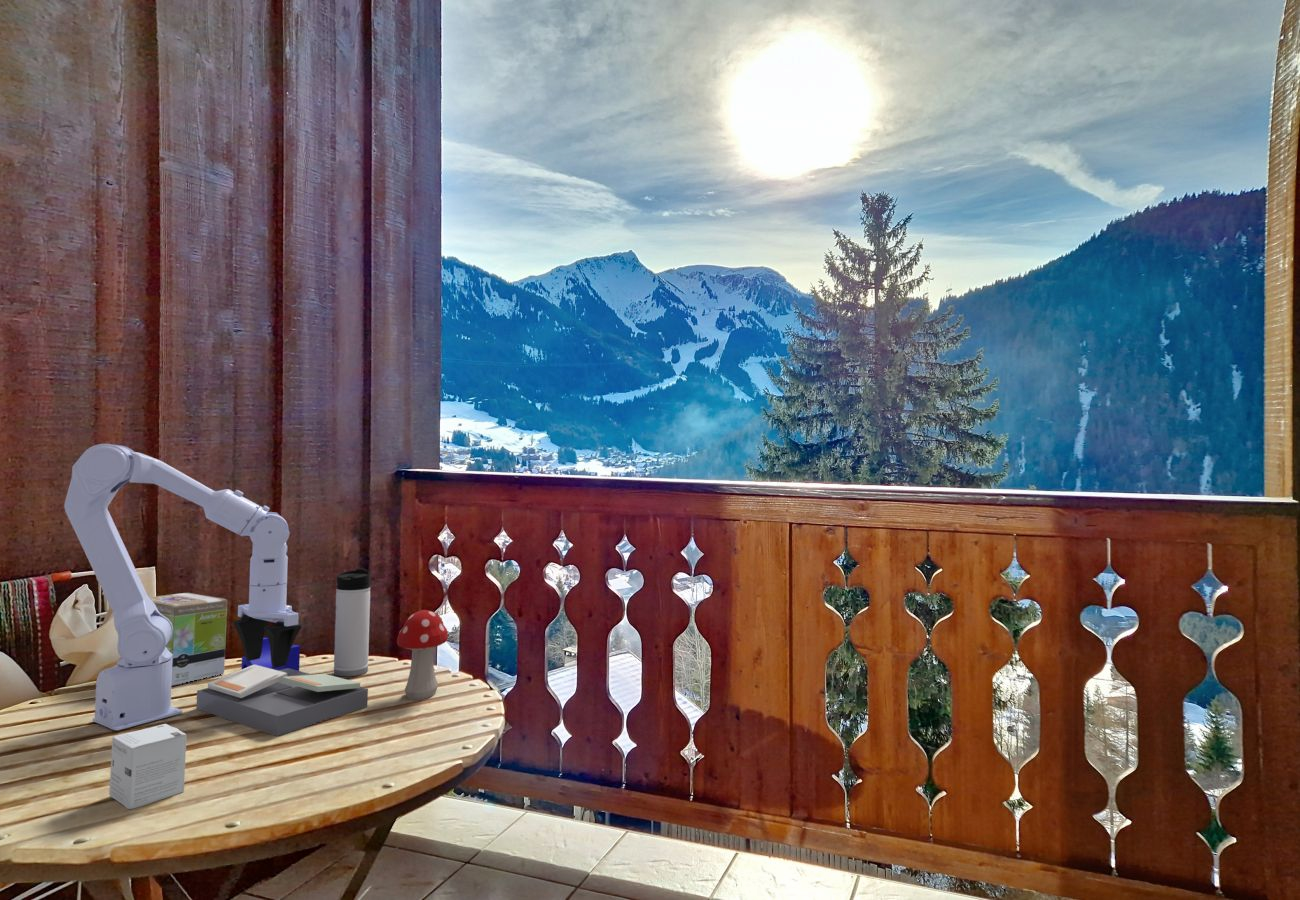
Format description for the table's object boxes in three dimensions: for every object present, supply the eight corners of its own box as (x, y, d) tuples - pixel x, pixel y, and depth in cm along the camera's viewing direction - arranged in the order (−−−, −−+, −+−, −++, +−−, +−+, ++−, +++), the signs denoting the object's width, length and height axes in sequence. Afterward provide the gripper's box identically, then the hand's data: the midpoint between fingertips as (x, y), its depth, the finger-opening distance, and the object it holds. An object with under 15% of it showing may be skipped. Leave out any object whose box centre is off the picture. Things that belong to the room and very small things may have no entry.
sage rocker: (317, 691, 113) (318, 686, 113) (281, 681, 117) (282, 676, 118) (359, 687, 119) (360, 682, 119) (323, 678, 124) (324, 673, 124)
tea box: (226, 674, 137) (229, 598, 137) (170, 688, 128) (173, 606, 128) (185, 662, 144) (188, 590, 145) (129, 674, 136) (132, 597, 136)
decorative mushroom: (431, 705, 121) (433, 617, 122) (384, 701, 123) (387, 614, 123) (455, 687, 131) (457, 606, 131) (412, 684, 132) (414, 604, 133)
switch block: (277, 736, 106) (277, 715, 106) (196, 708, 117) (197, 689, 117) (394, 697, 125) (394, 679, 125) (314, 677, 136) (315, 660, 136)
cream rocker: (240, 698, 113) (240, 693, 113) (208, 688, 118) (207, 683, 118) (287, 677, 120) (287, 672, 120) (254, 668, 125) (254, 663, 125)
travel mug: (374, 668, 143) (377, 569, 143) (357, 677, 136) (361, 573, 137) (345, 666, 143) (348, 568, 144) (327, 676, 137) (330, 572, 137)
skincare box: (108, 797, 86) (110, 736, 86) (164, 779, 91) (166, 721, 91) (128, 811, 83) (131, 747, 83) (186, 792, 88) (188, 732, 88)
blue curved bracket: (241, 672, 139) (242, 641, 139) (263, 667, 143) (264, 637, 143) (276, 682, 133) (277, 650, 133) (299, 677, 136) (300, 645, 137)
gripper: (315, 584, 122) (313, 663, 121) (266, 577, 129) (263, 651, 129) (276, 590, 116) (274, 673, 115) (226, 582, 123) (224, 660, 122)
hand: (266, 662), depth 121 cm, fingers open, 7 cm apart
